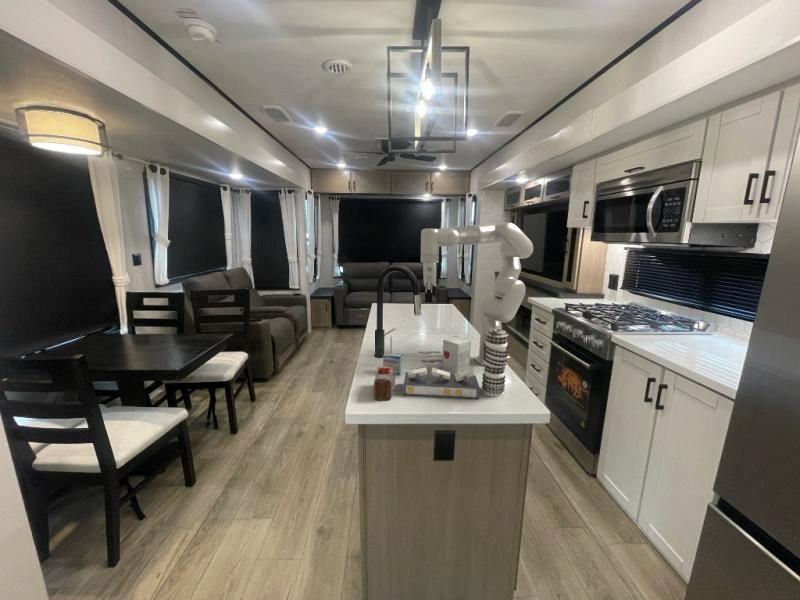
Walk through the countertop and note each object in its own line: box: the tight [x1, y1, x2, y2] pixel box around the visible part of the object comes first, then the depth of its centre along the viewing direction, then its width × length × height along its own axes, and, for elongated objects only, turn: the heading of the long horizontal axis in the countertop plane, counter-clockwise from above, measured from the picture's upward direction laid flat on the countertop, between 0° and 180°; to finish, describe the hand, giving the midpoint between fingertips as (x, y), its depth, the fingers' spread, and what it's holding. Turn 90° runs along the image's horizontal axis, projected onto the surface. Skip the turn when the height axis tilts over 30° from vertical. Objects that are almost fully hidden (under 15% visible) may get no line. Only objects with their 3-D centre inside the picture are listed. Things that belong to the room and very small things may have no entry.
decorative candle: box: [481, 328, 510, 398], centre depth 123 cm, size 9×9×25 cm
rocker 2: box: [431, 367, 450, 380], centre depth 123 cm, size 7×4×2 cm, turn 85°
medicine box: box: [382, 352, 403, 376], centre depth 140 cm, size 8×4×9 cm, turn 82°
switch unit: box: [403, 371, 480, 400], centre depth 124 cm, size 28×10×8 cm, turn 85°
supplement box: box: [441, 335, 472, 374], centre depth 142 cm, size 9×9×15 cm
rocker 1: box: [407, 367, 428, 378], centre depth 124 cm, size 7×4×2 cm, turn 85°
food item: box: [373, 365, 396, 401], centre depth 122 cm, size 14×8×10 cm, turn 179°
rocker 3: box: [455, 367, 475, 381], centre depth 123 cm, size 7×4×2 cm, turn 85°
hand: (428, 301), depth 137 cm, fingers closed
